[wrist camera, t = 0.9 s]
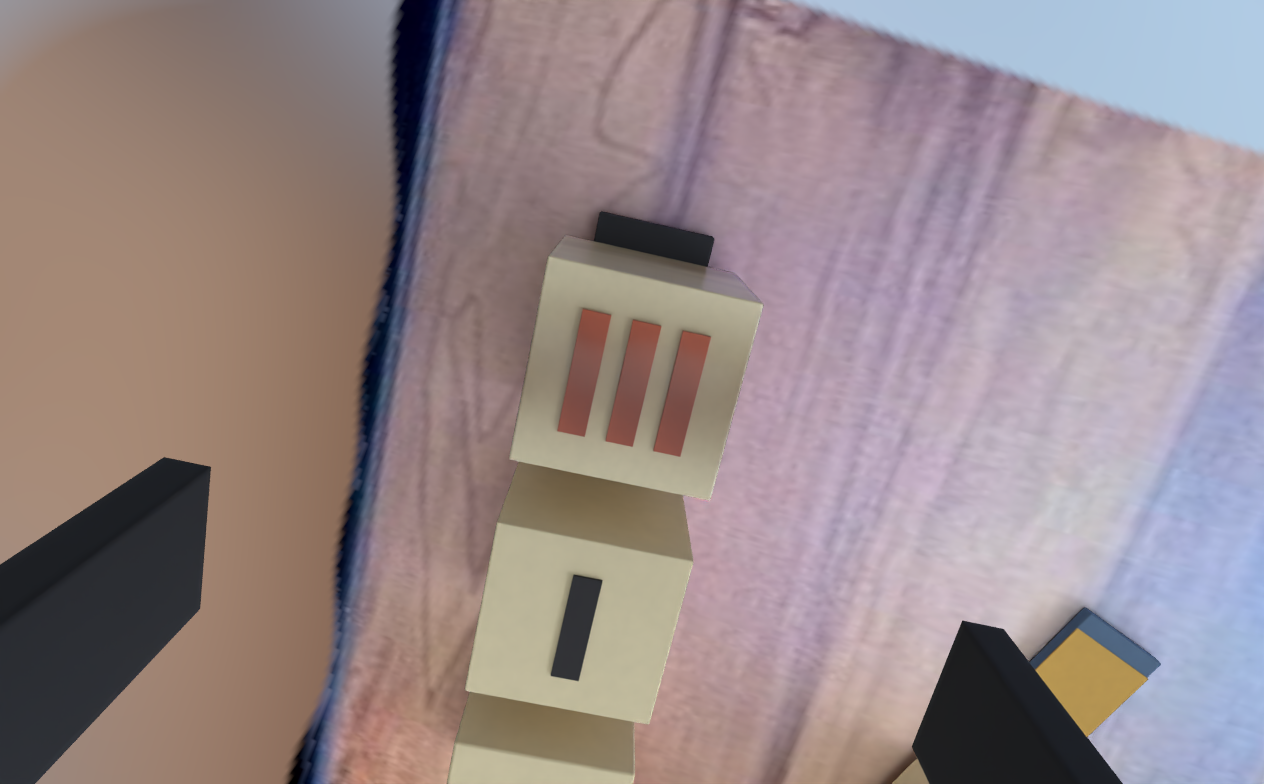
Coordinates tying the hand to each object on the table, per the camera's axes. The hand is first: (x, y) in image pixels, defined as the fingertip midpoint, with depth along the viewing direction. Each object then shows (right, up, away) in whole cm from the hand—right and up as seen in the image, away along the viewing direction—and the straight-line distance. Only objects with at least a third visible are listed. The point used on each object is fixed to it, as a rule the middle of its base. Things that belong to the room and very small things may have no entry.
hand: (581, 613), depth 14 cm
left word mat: (-1, -2, +17) cm, 17 cm away
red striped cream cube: (+1, +6, +14) cm, 15 cm away
